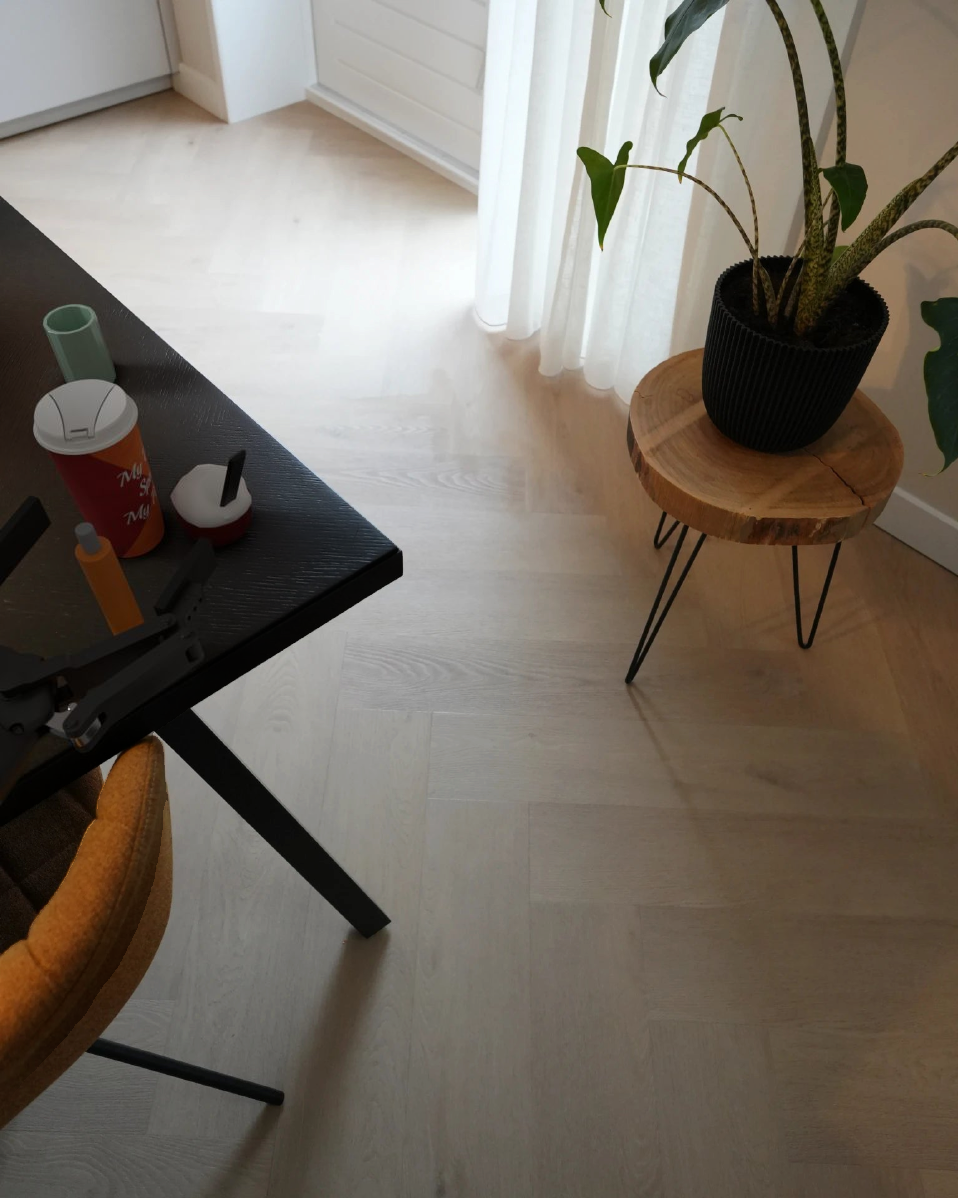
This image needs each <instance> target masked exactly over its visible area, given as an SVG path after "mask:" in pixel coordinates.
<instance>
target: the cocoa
mask: <svg viewBox="0 0 958 1198" xmlns="http://www.w3.org/2000/svg"><path fill="white" fill-rule="evenodd" d="M247 452H248V451H247V449H240V450H238V451H237V452H235V453H234V454H232V455H231V456H229V457H228V462H227V466H226V465H219V464H212V463H205V464H197V465H196V466H194V468H193V469H191V470H190V471H189V472H188V473H187V474H185V475H183V476H182V477H181V478H180V479H178V480H177V481H176V485H175V487H174V489H173V490H172V492H171V493H170V495H169V497H170V499H171V503H172V505H173V507H174V508H175V512H176V513H175V514H176V516H177V519H178V521H179V523H180V524H181V526H182V527H183V529H184V530H185V531H186V533H187V534H188V535H189V537H191V539H192V540H193V541H194V542H197V541H198V539H199V538H200V537H203V538H207V539H210V541H211V544H212V547H219V548H220V547H225V546H228V545H232V544H234V543H235V542H237V541H238V540H239V539H240V538H242V537H243V536H244V535H246V533H247V531H248V529H249V527H250V525H251V522H252V518H253V505H252V500H253V499H252V495H251V490H250V489H249V488H248V486H247V485H246V481H245V479H244V477H243V476H242V474H243V470H244V465H245V461H246V456H247Z"/></svg>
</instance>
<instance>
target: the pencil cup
mask: <svg viewBox="0 0 958 1198" xmlns="http://www.w3.org/2000/svg"><path fill="white" fill-rule="evenodd" d="M42 323H43V324H42V327H43V330H44V331H45V334H46V336H47V338H48V341H49V343H50V346H51V349H52V351H53V353H54V356H55V358H56V361H57V363H58V365H59V368H60V370H61V373H62V376H63V379H64V380H65V382H66V384H67V383H70V382H74V381H80V380H88V379H97V380H103V381H107V382H110V383H113V384H114V382H115V380H116V378H117V373H116V370H115V365H114V362H113V359H112V357H111V354H110V351H109V348H108V345H107V343H106V340H105V337H104V334H103V331H102V329H101V325H100V323H99V320H98V317H97V315H96V312H95V310H94V309H92V308H91V307H90V306H87V305H85V304H84V305H83V304H77V303H74V304H73V303H71V304H65V305H62V306H58V307H56V308H54V309H52V310H51V311H50V312H48V313H47V314H46V315H45V316H44V318H43V322H42Z"/></svg>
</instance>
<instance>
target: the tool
mask: <svg viewBox="0 0 958 1198" xmlns="http://www.w3.org/2000/svg"><path fill="white" fill-rule="evenodd" d="M74 533H75V536H76V537H77V540H78V542H79V543H78V544H77V545H76V546H75V549H74V556H75V557H76V560H77V562H78V564H79V566H80V568H81V570H82V572H83V575H84V576H85V578H86V581H87V582H88V584H89V586H90V589H91V590H92V593H93V595H94V597H95V599H96V601H97V603H98V606H99V607H100V610H101V611H102V614H103V615H104V618H105V620H106V622H107V624H108V627H109V628H110V631H111V632H112V634H113V636H115V635H118V634H120V633H122V632H124V631H127V630H129V629H131V628H133V627H136V626H138V625H140V624H142V623H145V622H146V621H145V619H144V617H143V615H142V612H141V610H140V607H139V606H138V604H137V601H136V598H135V596H134V594H133V591H132V589H131V587H130V585H129V582H128V580H127V578H126V576H125V573H124V571H123V569H122V566H121V564H120V562H119V559H118V557H116V555H115V552H114V550H113V548H112V545H111V543H110V541H109V540H108V539H107V538H105V537H102V536H97V534H96V532H95V530H94V527H93V525H92V524H90V523H87V522H86V521H85V522H81V523H79V524H77V525H76V527H75V528H74Z"/></svg>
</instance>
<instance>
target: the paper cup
mask: <svg viewBox="0 0 958 1198" xmlns="http://www.w3.org/2000/svg"><path fill="white" fill-rule="evenodd" d="M138 416H139V409H138V407H137V404H136V402H135V400H134V399H133V398H132V397H130V396H129V395H128V394H127V393H126V392H125V390H124V389H123V388H122V387H120V386H119V385H118V384H116V383H114V382H113V383H110V382H107V381H103V380H97V379H88V380H80V381H74V382H70V383H67V382H66V383H64V384H62V385H59V386H58V387H56V388H54V389H52V390H51V391H49V392H48V393H46V394H45V395H44V396H43V397H42V398H41V399H40V400H39V401H38V403H37V404H36V406H35V409H34V414H33V420H34V421H33V427H32V431H33V435H34V439H36V442H37V443H38V444H39V445H40V446H41V447H42V448H44V449H46V451H47V453H48V455H49V457H50V458H51V460H52V462H53V464H54V466H55V467H56V470H57V471H58V474H59V475H60V477H61V479H62V480H63V483H64V484H65V486H66V488H67V490H68V492H69V494H70V496H71V497H72V499H73V501H74V503H75V504H76V506H77V508H78V510H79V511H80V513H81V515H82V517H83V519H84V521H85V522H87V523H90V524H92V525H93V527H94V530H95V532H96V534H97V536H102V537H105V538H107V539H108V540H109V541H110V543H111V545H112V548H113V550H114V552H115V555H116V557H117V558H122V559H128V558H135V557H139V556H142V555H145V554H147V553H148V552H150V551H152V550H153V549H154V548H156V546H158V545H159V544H160V542H161V541H162V539H163V537H164V534H165V523H164V518H163V514H162V509H161V506H160V502H159V497H158V495H157V491H156V486H155V483H154V479H153V475H152V472H151V469H150V464H149V461H148V458H147V454H146V450H145V447H144V443H143V439H142V435H141V433H140V429H139V426H138V422H137V421H138Z"/></svg>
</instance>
